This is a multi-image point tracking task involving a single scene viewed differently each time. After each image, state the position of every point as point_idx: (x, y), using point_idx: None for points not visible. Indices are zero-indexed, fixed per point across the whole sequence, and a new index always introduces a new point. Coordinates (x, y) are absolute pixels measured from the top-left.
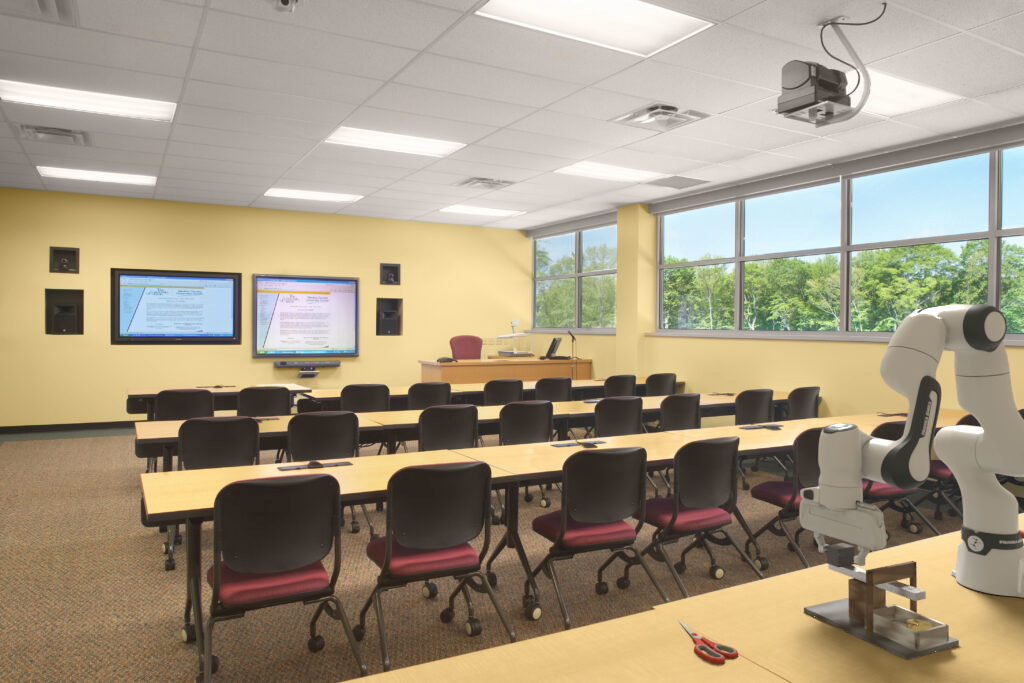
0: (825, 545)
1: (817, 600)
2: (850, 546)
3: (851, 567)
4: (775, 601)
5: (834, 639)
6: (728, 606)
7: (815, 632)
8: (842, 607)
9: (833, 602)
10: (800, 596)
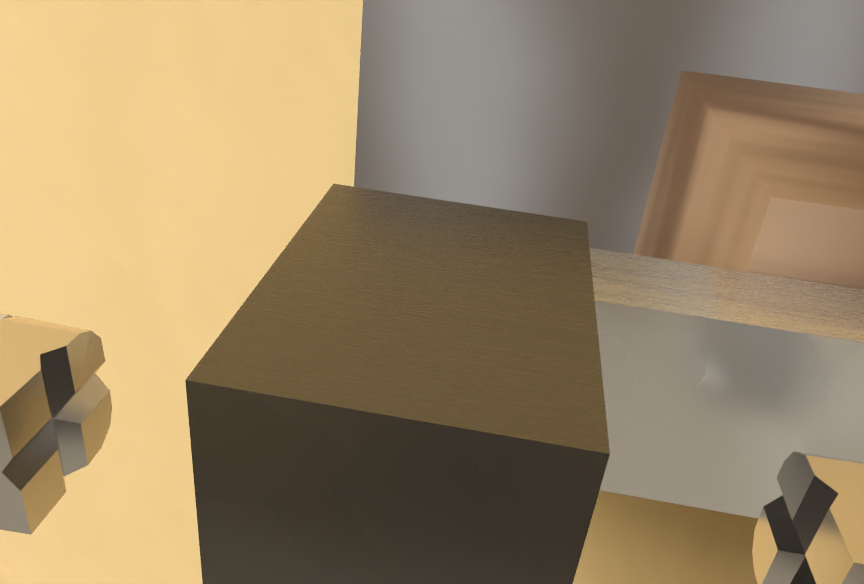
0: (10, 483)
1: (232, 72)
2: (540, 532)
3: (639, 402)
4: (140, 343)
5: (709, 537)
6: (119, 574)
7: (587, 534)
8: (494, 135)
9: (384, 99)
10: (116, 117)
